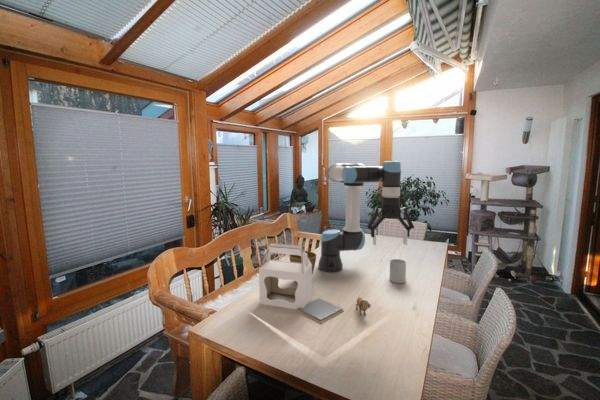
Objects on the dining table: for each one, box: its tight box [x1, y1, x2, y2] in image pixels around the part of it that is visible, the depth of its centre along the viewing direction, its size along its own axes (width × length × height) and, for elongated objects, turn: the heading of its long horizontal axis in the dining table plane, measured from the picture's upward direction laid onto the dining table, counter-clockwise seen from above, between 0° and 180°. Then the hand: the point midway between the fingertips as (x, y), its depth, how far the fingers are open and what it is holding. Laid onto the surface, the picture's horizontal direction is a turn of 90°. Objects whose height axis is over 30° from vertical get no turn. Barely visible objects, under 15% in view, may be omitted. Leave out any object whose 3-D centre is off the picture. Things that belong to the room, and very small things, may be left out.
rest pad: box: [295, 298, 345, 324], centre depth 127 cm, size 15×15×1 cm
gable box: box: [258, 242, 313, 310], centre depth 136 cm, size 22×13×28 cm, turn 71°
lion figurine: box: [355, 296, 372, 317], centre depth 126 cm, size 12×4×7 cm, turn 12°
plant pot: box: [288, 250, 317, 284], centre depth 158 cm, size 15×15×16 cm
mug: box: [389, 258, 407, 284], centre depth 163 cm, size 12×8×11 cm
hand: (389, 244), depth 128 cm, fingers open, 13 cm apart
